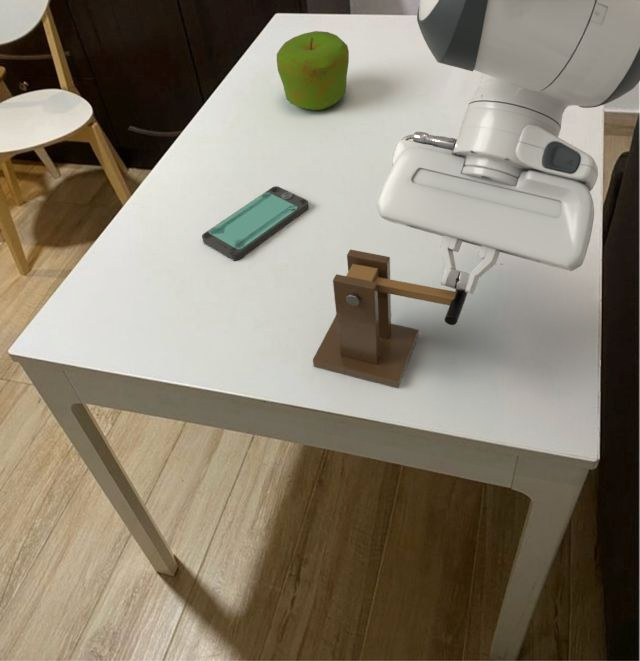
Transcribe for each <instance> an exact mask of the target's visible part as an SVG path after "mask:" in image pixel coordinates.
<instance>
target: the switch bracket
mask: <svg viewBox="0 0 640 661" xmlns="http://www.w3.org/2000/svg"><path fill="white" fill-rule="evenodd" d="M346 261H347V262H346V263H347V273H348V272H349V270H350V268H351V266H352V264H357V265H362V266H367V267H373V268H378V276H379V277H380V278H385V279H390V280H391V257H390V256H386V255H382V254H376V253H372V252H366V251H361V250H355V249H349V250H348V252H347V254H346ZM332 286H333V294H334V296H333V297H334V304H335V305H334V306H335V316H334V318H333V320H332V322H331V324H330V326H329V328H328V330H327V332H326V334H325V335H324V338H323V340H322V341H321V343H320V345H319V347H318V349H317V351H316V353H315V355H314V356H313V358H312V366H313V367H315V368H318V369H322V370H326V371H330V372H334V373H338V374H342V375H346V376H349V377H353V378H356V379H361V380H364V381H369V382H373V383H376V384H381V385H385V386H387V387H392V388H396V389H399V386H400V383H401V381H402V379H403V377H404V374H405V371H406V368H407V366H408V363H409V362H410V360H411V356H412V354H413V351H414V349H415V346H416V344H417V341H418V339H419V336H420V335H419V332H420V330H419V329H417V328H414V327H413V328H412V327H409V326H404V325H399V324H395V323H392V300H391V299H392V296H391V295H392V294H388V293H383V292H378V289H377V282H372V281H367V280H362V279H357V278H352V277H347V276H346V275H342V274H337V273H336V274H335V276H334V277H333V280H332Z"/></svg>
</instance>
